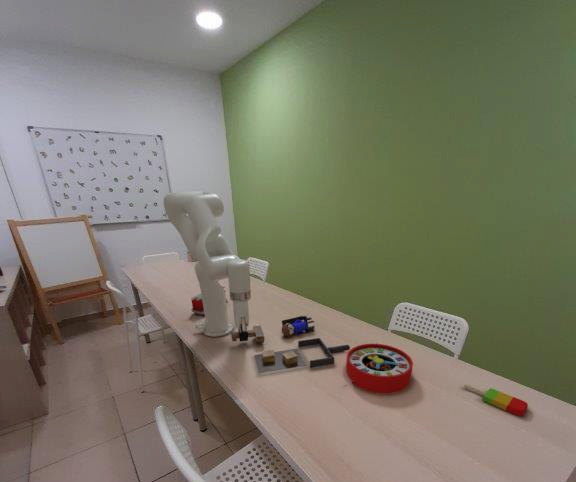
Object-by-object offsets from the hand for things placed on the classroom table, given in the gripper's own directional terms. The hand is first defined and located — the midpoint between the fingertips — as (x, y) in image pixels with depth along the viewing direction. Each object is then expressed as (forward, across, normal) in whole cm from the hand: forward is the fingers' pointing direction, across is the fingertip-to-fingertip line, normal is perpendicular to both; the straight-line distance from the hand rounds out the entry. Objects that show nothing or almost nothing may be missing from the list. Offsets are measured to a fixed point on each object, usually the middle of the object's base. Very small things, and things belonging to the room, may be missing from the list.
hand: (243, 338), depth 116 cm
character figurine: (+3, -3, +23) cm, 23 cm away
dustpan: (+2, +16, +28) cm, 33 cm away
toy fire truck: (+5, -43, -12) cm, 45 cm away
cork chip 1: (+1, +15, +7) cm, 16 cm away
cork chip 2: (+1, +18, +14) cm, 23 cm away
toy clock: (+1, +32, +40) cm, 51 cm away
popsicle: (-1, +52, +64) cm, 83 cm away
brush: (0, 0, +1) cm, 2 cm away
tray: (+2, +16, +11) cm, 20 cm away
